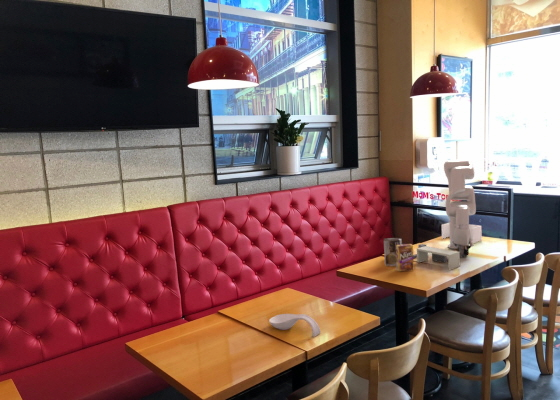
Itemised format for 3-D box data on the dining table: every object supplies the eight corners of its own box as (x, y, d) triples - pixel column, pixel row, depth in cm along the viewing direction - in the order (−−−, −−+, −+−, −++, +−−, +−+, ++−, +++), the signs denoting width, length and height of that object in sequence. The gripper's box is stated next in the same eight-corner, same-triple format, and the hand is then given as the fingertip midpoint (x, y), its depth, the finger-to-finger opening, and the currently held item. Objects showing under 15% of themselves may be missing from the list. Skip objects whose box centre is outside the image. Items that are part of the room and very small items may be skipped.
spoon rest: (264, 329, 189) (262, 312, 188) (281, 319, 198) (279, 304, 197) (310, 341, 174) (309, 323, 173) (325, 330, 183) (325, 313, 182)
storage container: (481, 240, 319) (481, 225, 318) (473, 243, 312) (473, 228, 311) (449, 236, 339) (449, 222, 337) (441, 239, 332) (441, 224, 331)
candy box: (398, 271, 257) (397, 246, 255) (396, 269, 261) (395, 244, 259) (413, 270, 257) (413, 244, 255) (411, 268, 261) (410, 243, 259)
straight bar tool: (422, 254, 292) (421, 243, 291) (426, 255, 289) (426, 244, 288) (406, 258, 283) (406, 248, 282) (411, 259, 280) (410, 249, 279)
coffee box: (399, 263, 275) (398, 237, 273) (401, 265, 268) (400, 239, 266) (384, 263, 276) (383, 238, 274) (385, 266, 269) (384, 240, 267)
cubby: (426, 259, 279) (426, 245, 278) (459, 266, 259) (459, 251, 258) (417, 262, 274) (416, 248, 273) (450, 269, 254) (450, 254, 253)
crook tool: (453, 253, 288) (453, 243, 287) (467, 256, 280) (467, 245, 279) (432, 260, 276) (431, 249, 275) (445, 263, 268) (445, 251, 267)
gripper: (447, 226, 283) (447, 253, 285) (471, 229, 269) (471, 258, 272) (454, 224, 287) (454, 251, 290) (478, 227, 273) (478, 256, 276)
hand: (462, 254), depth 280 cm, fingers open, 4 cm apart
